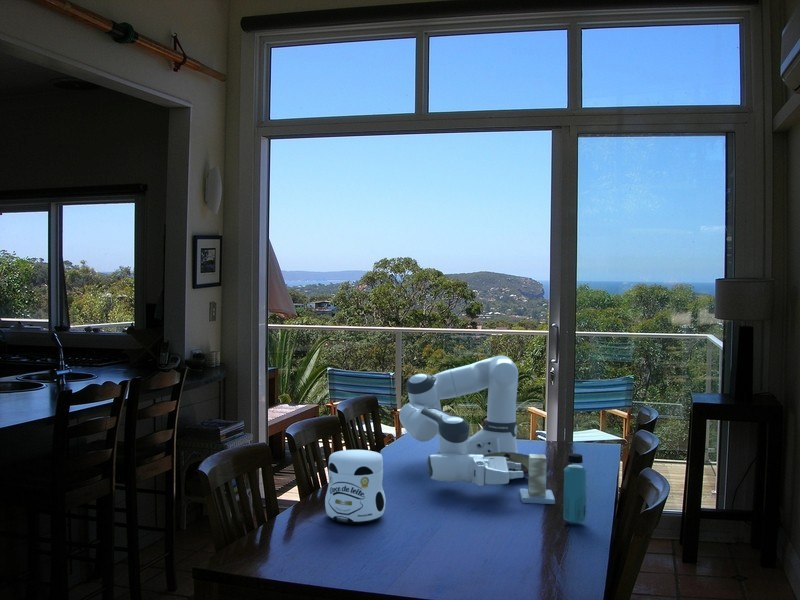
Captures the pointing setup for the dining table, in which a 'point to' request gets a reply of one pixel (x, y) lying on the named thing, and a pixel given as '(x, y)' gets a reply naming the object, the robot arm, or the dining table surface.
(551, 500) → the white square slab
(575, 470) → the beverage bottle
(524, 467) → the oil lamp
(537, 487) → the maple block
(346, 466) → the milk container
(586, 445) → the dining table surface
